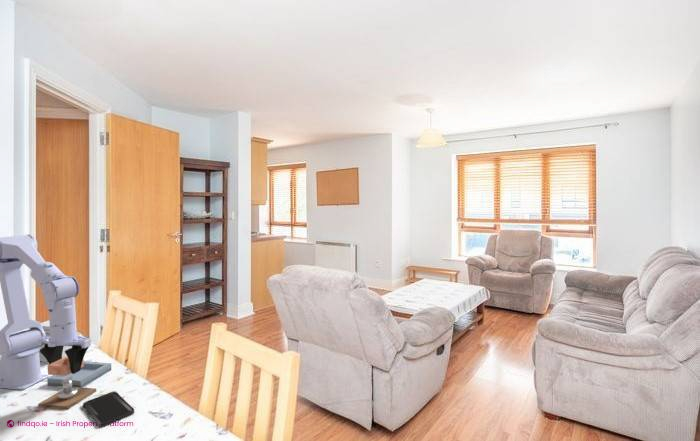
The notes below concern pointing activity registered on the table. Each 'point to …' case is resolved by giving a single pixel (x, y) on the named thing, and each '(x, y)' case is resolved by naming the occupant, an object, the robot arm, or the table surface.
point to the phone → (108, 409)
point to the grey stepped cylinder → (67, 390)
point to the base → (66, 404)
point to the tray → (82, 375)
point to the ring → (61, 367)
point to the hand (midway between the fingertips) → (66, 371)
